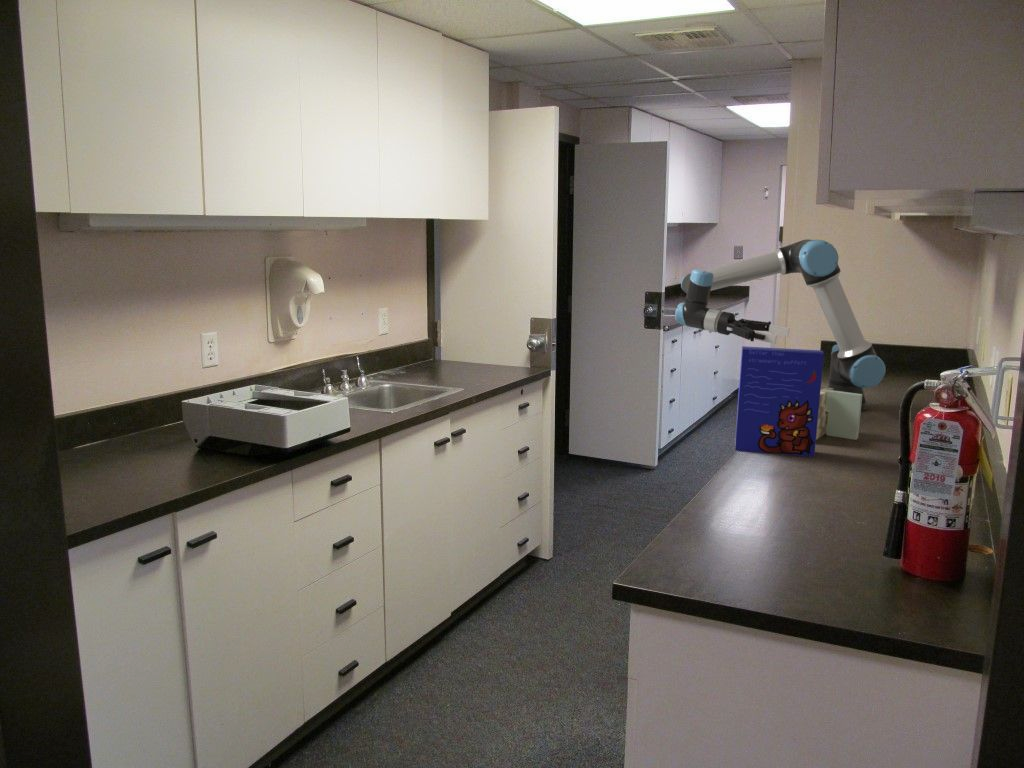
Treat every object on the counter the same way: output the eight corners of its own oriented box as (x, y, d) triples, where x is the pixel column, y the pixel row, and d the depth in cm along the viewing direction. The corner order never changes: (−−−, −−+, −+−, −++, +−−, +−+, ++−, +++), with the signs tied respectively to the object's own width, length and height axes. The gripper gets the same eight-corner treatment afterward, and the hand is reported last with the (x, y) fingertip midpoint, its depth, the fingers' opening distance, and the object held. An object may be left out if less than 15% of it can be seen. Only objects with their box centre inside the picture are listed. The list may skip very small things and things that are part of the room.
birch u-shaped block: (821, 429, 265) (825, 387, 262) (829, 430, 263) (833, 388, 261) (802, 442, 249) (806, 397, 246) (810, 443, 248) (814, 398, 245)
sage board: (784, 428, 266) (788, 386, 263) (787, 427, 268) (790, 385, 265) (855, 439, 253) (860, 395, 250) (857, 438, 255) (862, 394, 252)
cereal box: (811, 451, 239) (821, 349, 233) (814, 456, 233) (823, 352, 228) (734, 445, 244) (742, 345, 238) (735, 450, 238) (742, 348, 233)
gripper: (731, 327, 288) (791, 340, 277) (704, 339, 268) (767, 354, 257) (735, 306, 285) (796, 318, 274) (707, 316, 266) (772, 331, 255)
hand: (782, 336), depth 266 cm, fingers open, 13 cm apart
